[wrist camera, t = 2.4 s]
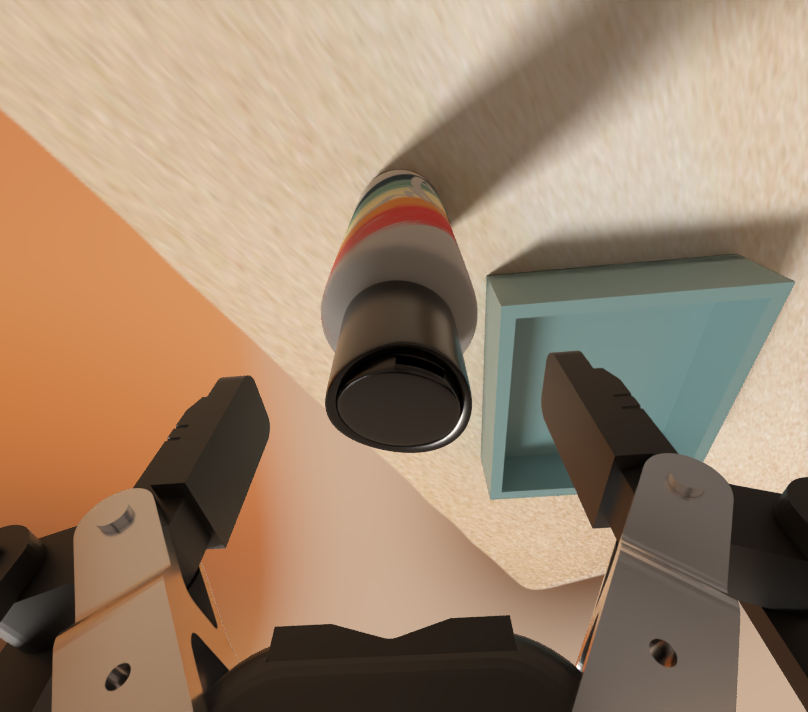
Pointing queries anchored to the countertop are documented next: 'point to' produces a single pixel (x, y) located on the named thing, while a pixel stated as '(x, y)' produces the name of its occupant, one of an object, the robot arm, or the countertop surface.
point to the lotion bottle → (399, 321)
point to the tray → (620, 353)
